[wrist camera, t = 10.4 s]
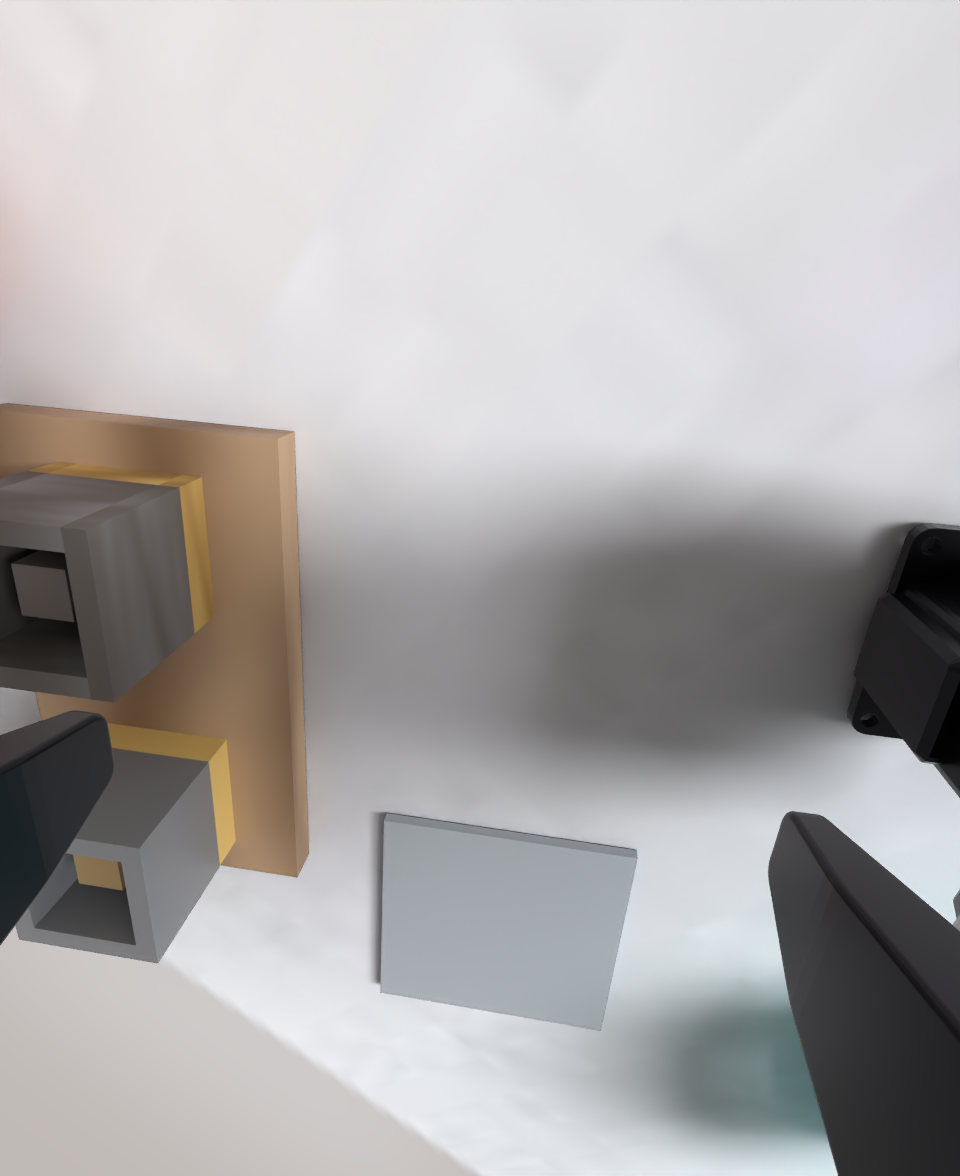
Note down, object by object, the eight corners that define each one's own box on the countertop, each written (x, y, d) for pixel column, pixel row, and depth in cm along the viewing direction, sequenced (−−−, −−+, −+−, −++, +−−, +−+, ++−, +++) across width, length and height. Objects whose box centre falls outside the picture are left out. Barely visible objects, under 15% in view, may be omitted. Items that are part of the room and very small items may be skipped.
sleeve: (235, 840, 25) (157, 963, 20) (121, 822, 25) (19, 939, 20) (226, 739, 23) (139, 848, 18) (103, 722, 23) (-13, 824, 19)
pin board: (293, 431, 20) (180, 482, 14) (309, 853, 26) (234, 1006, 20) (7, 403, 20) (-211, 440, 15) (88, 818, 27) (-43, 956, 21)
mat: (636, 850, 24) (637, 858, 24) (600, 1020, 27) (600, 1030, 27) (386, 812, 25) (384, 820, 24) (382, 983, 28) (380, 992, 28)
